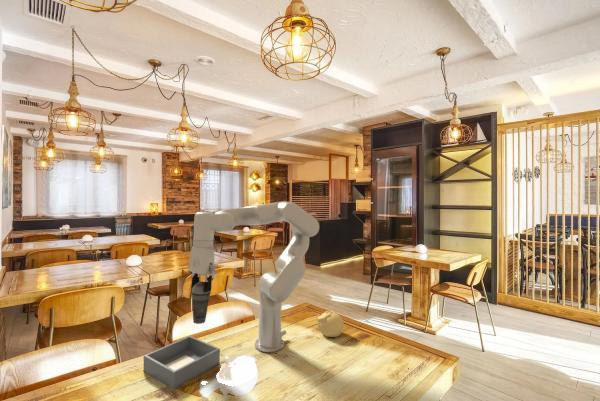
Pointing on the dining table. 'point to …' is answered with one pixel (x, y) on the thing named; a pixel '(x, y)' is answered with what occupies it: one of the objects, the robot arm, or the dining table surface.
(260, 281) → the robot arm
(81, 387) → the dining table surface
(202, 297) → the beverage cup
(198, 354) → the walled bin
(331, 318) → the sculpture
